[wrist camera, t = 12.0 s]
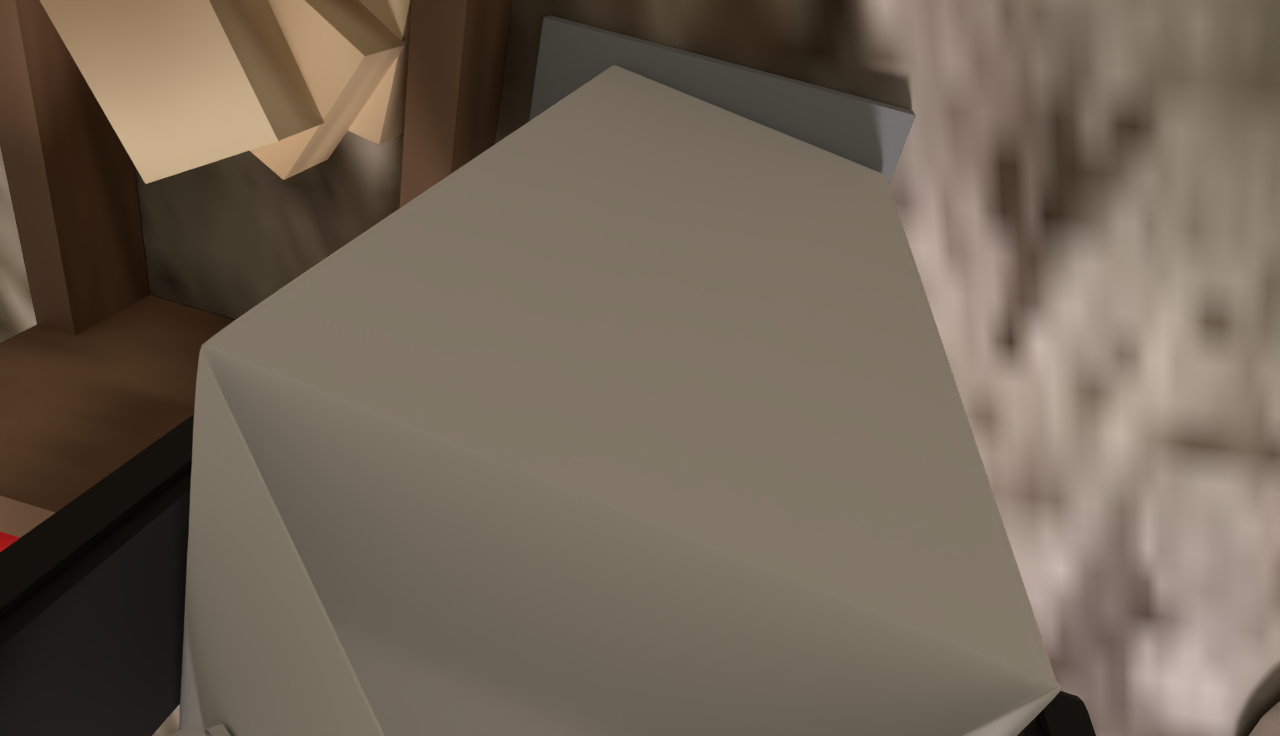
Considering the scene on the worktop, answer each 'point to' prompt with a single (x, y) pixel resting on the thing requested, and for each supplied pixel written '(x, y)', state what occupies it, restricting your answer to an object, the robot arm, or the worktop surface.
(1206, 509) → the worktop surface
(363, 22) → the offcut mid
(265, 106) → the offcut top
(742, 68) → the pad
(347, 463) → the milk carton
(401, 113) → the offcut low
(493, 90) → the rack
